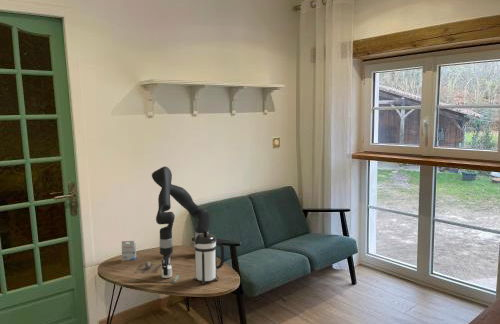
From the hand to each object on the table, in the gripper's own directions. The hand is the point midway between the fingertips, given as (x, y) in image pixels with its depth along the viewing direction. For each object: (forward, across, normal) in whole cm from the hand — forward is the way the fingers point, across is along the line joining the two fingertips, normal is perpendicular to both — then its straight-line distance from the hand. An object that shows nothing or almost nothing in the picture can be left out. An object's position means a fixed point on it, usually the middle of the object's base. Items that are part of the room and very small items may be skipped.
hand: (166, 272), depth 221 cm
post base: (+4, -13, -15) cm, 20 cm away
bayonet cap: (+2, 0, 0) cm, 2 cm away
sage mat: (+4, 0, 0) cm, 4 cm away
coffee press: (+4, 0, +24) cm, 24 cm away
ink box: (+4, -30, -32) cm, 44 cm away
